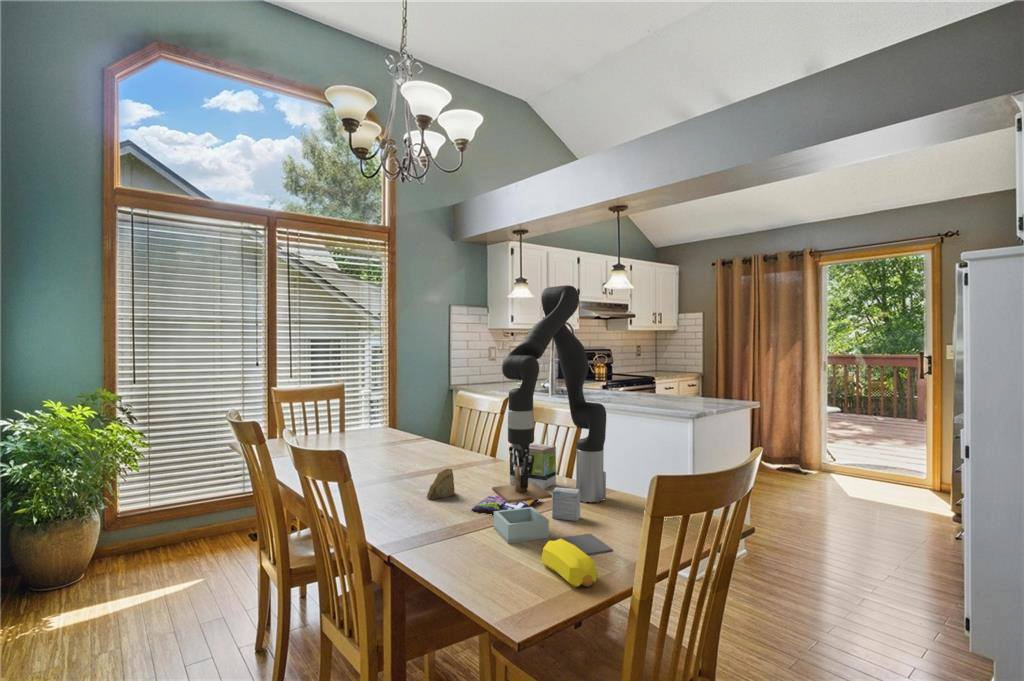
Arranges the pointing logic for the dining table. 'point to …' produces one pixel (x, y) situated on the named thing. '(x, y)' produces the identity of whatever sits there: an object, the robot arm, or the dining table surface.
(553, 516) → the medicine box
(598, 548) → the mat
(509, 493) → the lid
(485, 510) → the food package
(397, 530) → the dining table surface
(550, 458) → the tea box
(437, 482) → the rock
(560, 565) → the yellow faceted long part
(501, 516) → the dish
